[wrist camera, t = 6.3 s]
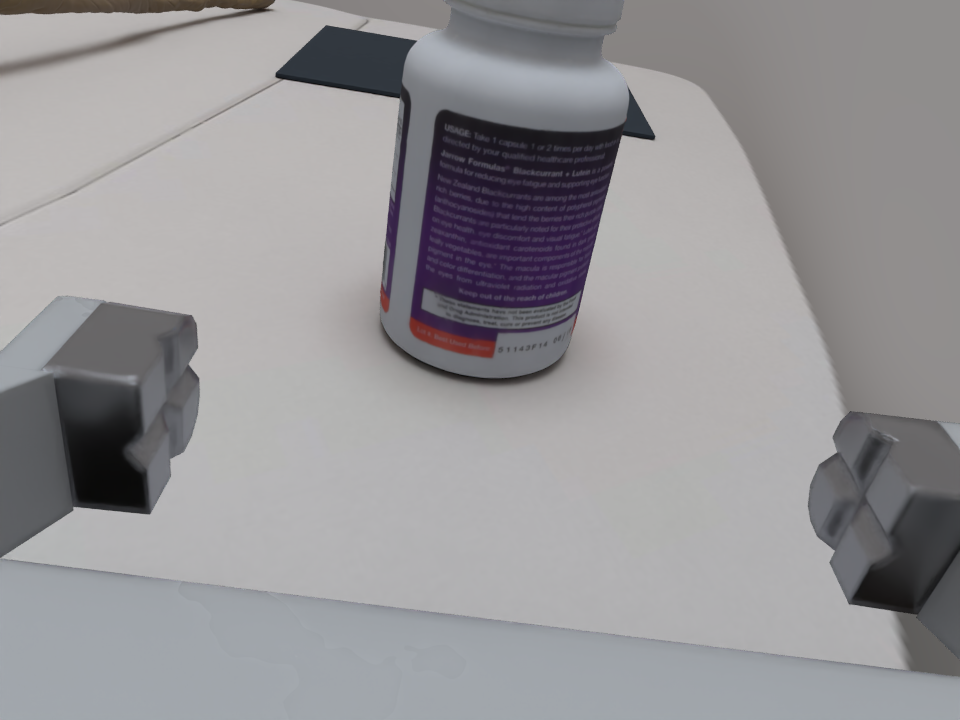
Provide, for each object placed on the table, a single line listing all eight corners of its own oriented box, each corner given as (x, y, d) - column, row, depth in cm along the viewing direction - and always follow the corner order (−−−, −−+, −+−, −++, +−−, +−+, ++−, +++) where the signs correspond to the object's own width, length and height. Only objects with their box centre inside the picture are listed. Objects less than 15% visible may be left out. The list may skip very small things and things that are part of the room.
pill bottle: (607, 353, 23) (714, -23, 18) (461, 407, 19) (541, -37, 14) (483, 272, 26) (543, -67, 21) (338, 306, 23) (368, -87, 17)
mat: (621, 78, 55) (621, 75, 54) (654, 139, 43) (655, 135, 43) (325, 28, 53) (325, 25, 53) (275, 76, 41) (275, 73, 41)
